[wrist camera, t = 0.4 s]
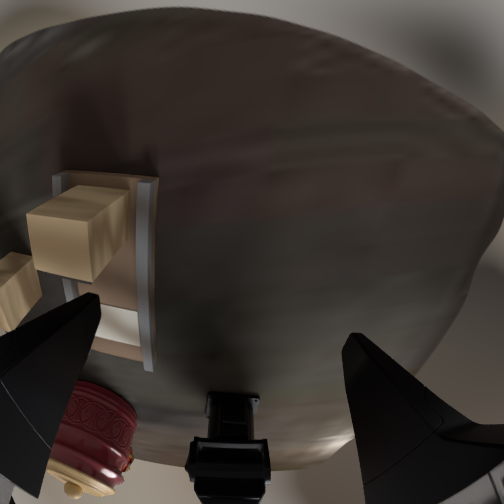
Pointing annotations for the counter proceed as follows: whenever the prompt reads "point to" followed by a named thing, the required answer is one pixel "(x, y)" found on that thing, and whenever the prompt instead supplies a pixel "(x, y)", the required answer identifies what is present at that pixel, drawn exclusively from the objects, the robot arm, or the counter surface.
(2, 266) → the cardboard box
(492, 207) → the counter surface
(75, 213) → the slider rail with block
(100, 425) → the canister
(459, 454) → the robot arm
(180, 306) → the counter surface
